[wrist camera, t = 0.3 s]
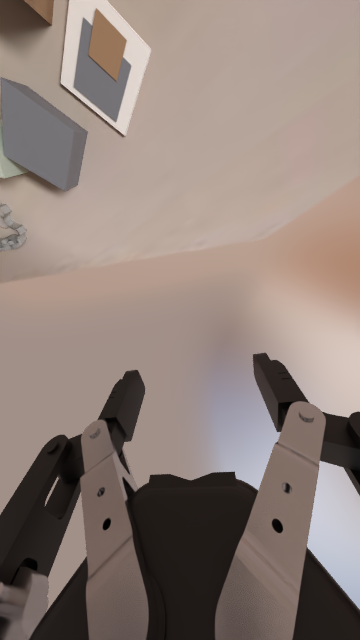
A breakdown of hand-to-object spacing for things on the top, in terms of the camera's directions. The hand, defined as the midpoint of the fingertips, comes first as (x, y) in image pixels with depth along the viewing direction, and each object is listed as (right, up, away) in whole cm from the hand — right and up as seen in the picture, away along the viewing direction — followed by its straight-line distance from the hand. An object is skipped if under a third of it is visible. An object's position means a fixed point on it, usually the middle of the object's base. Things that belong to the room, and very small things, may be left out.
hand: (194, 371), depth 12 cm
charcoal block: (-19, +29, +13) cm, 37 cm away
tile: (-10, +33, +9) cm, 36 cm away
